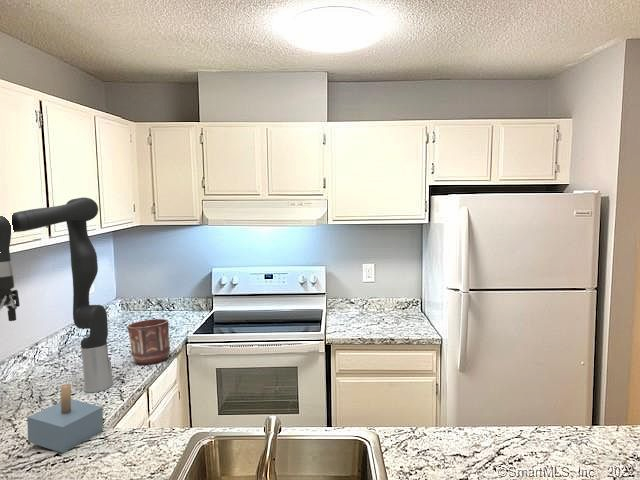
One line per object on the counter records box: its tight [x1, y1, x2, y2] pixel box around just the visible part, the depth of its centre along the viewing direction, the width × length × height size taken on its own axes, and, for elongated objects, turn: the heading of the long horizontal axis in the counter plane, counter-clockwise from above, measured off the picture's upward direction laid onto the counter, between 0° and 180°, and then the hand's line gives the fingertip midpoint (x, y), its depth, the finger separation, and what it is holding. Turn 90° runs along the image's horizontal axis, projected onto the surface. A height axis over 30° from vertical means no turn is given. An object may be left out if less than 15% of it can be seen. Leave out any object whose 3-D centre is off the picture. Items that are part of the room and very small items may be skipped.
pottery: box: [126, 318, 171, 365], centre depth 217 cm, size 18×18×18 cm
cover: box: [26, 383, 104, 454], centre depth 139 cm, size 14×14×16 cm
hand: (4, 323), depth 157 cm, fingers open, 8 cm apart
